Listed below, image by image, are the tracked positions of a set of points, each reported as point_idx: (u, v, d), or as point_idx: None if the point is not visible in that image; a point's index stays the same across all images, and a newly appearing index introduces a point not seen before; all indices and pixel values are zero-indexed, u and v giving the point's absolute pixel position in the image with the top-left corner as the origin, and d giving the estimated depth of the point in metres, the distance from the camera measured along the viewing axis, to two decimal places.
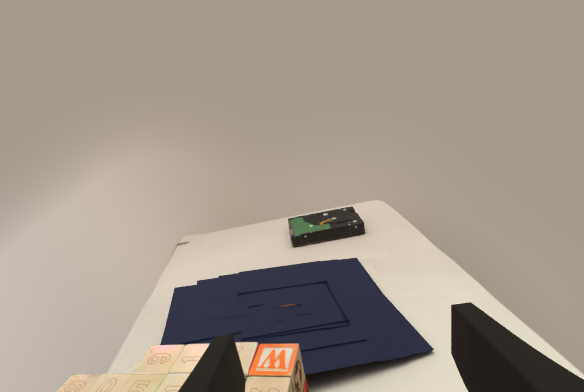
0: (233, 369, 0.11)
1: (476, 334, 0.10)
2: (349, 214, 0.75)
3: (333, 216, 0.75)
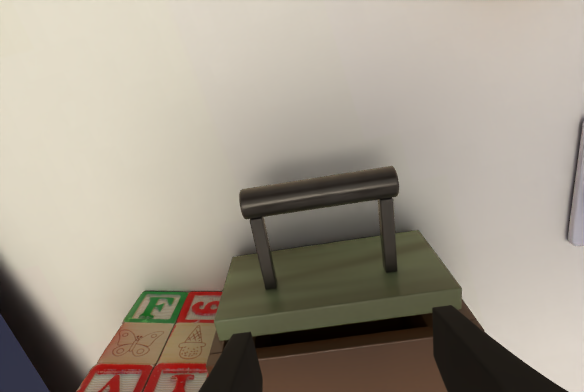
0: (252, 367, 0.11)
1: (454, 337, 0.10)
2: None
3: None
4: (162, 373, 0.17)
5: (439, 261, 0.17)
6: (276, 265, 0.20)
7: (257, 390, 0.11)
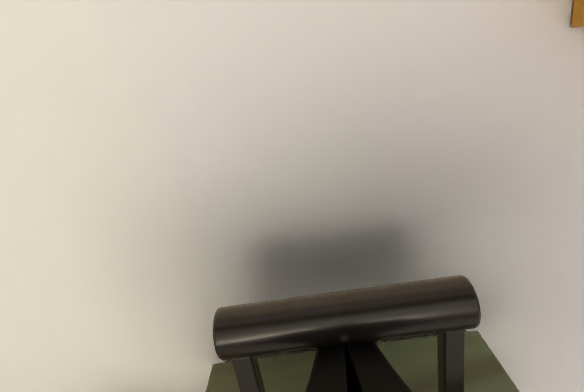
0: (345, 355, 0.11)
1: (348, 351, 0.10)
2: None
3: None
4: None
5: None
6: (274, 391, 0.13)
7: (349, 379, 0.11)
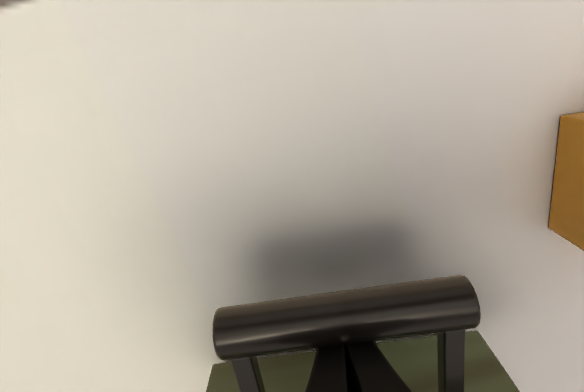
0: (345, 355, 0.11)
1: (348, 351, 0.10)
2: None
3: None
4: None
5: None
6: (274, 391, 0.13)
7: (349, 379, 0.11)
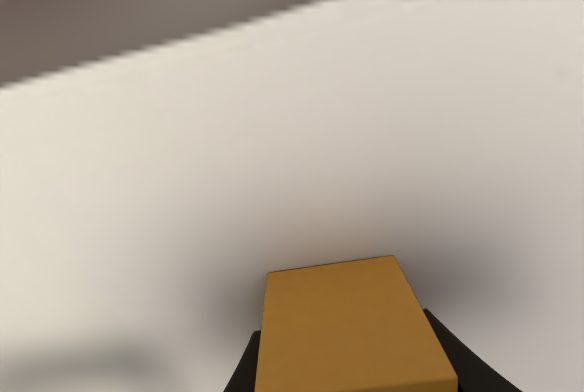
0: None
1: None
2: None
3: None
4: None
5: None
6: None
7: None
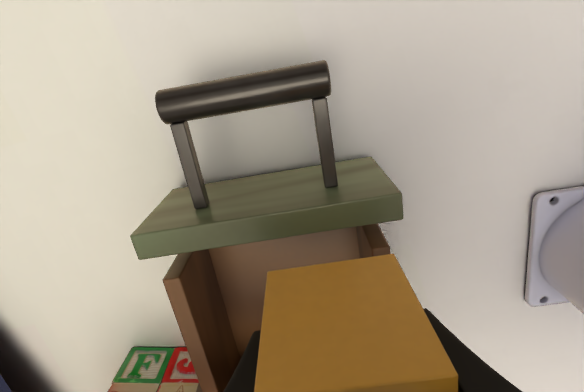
0: None
1: None
2: None
3: None
4: None
5: (384, 176, 0.16)
6: (214, 191, 0.18)
7: None
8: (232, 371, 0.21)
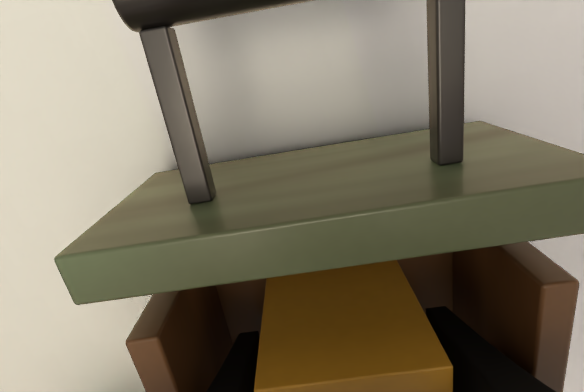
0: None
1: (447, 338, 0.10)
2: None
3: None
4: None
5: (549, 144, 0.08)
6: (223, 175, 0.11)
7: None
8: None
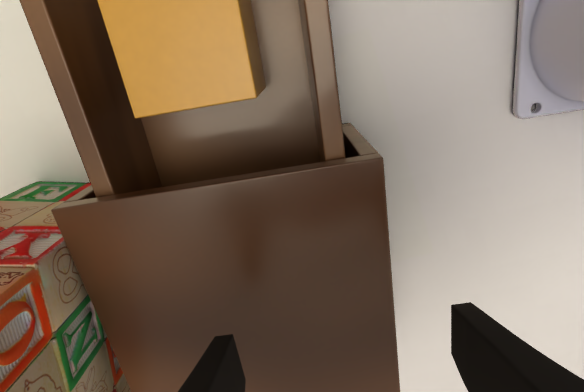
0: (233, 369, 0.11)
1: (476, 334, 0.10)
2: None
3: None
4: (14, 234, 0.14)
5: None
6: None
7: None
8: (139, 171, 0.16)
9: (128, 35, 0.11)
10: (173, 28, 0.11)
